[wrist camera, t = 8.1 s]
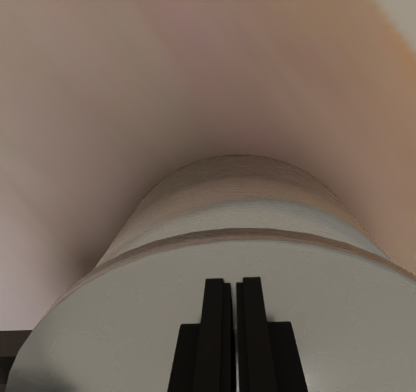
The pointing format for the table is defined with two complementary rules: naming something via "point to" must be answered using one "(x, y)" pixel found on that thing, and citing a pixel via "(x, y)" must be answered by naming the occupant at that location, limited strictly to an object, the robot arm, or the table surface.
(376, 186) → the table surface
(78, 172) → the table surface
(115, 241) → the cooker pot
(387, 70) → the table surface
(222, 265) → the cooker lid
